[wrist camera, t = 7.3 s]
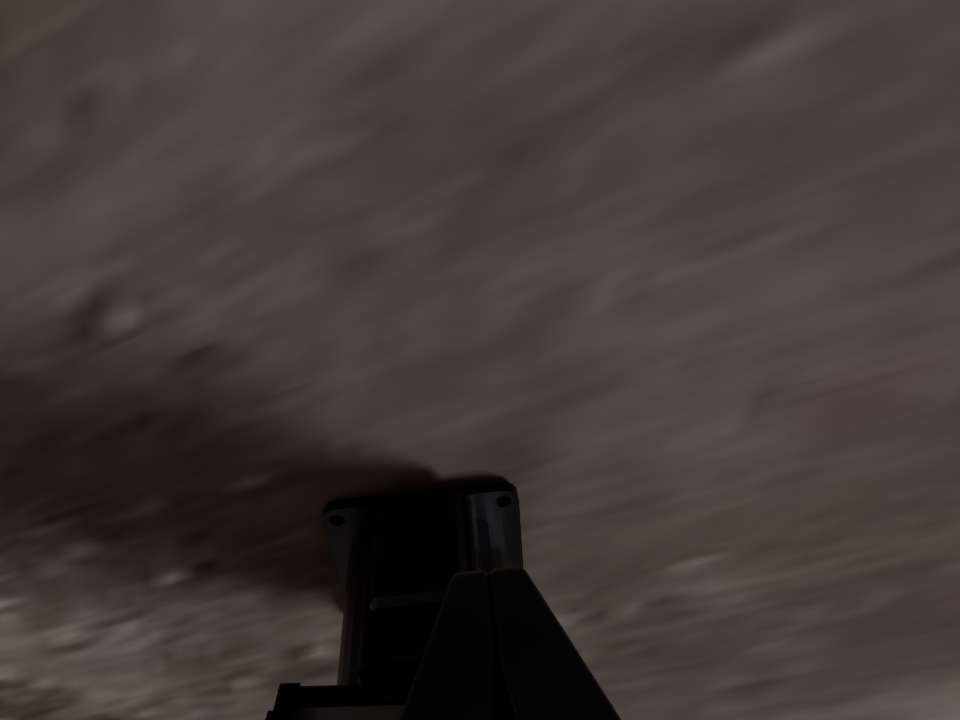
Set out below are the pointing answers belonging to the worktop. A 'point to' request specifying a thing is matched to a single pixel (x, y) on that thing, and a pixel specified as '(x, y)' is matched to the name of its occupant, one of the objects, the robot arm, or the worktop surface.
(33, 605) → the worktop surface
